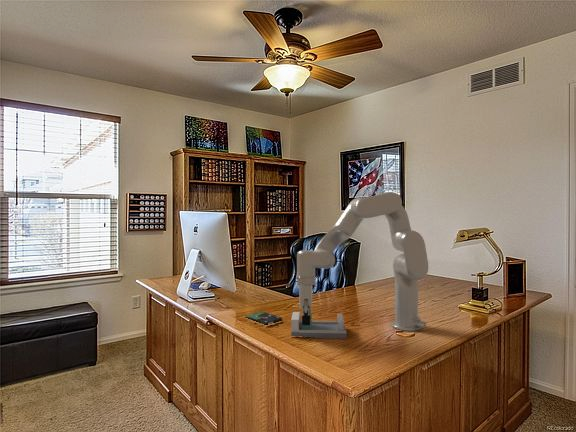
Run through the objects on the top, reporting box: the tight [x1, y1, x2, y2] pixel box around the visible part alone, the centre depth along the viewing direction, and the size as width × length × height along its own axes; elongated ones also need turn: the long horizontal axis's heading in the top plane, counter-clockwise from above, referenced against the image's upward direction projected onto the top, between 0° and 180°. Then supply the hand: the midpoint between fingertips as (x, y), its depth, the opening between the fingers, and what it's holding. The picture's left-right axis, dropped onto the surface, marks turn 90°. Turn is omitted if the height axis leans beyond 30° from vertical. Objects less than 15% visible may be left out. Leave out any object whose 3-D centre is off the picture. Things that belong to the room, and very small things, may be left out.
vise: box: [290, 311, 348, 339], centre depth 150 cm, size 22×12×7 cm, turn 86°
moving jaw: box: [336, 313, 345, 331], centre depth 149 cm, size 2×10×4 cm, turn 176°
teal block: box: [301, 312, 313, 330], centre depth 151 cm, size 4×5×6 cm
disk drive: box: [244, 311, 283, 325], centre depth 166 cm, size 10×3×15 cm
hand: (306, 321), depth 151 cm, fingers open, 9 cm apart
